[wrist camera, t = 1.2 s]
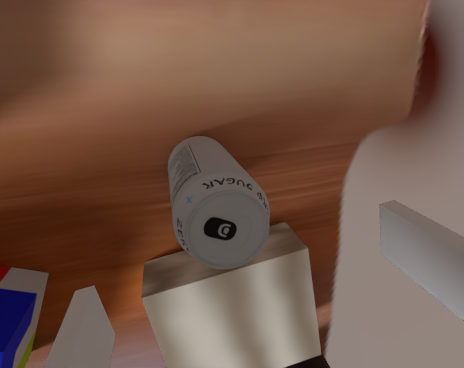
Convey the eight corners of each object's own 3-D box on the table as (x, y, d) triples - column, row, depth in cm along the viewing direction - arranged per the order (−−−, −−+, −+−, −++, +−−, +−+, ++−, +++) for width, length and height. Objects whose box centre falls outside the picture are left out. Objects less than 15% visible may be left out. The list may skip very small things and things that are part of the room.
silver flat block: (177, 357, 38) (180, 404, 33) (144, 261, 33) (141, 298, 28) (299, 316, 41) (321, 354, 35) (284, 221, 36) (308, 248, 30)
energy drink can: (215, 199, 33) (256, 287, 19) (159, 183, 31) (159, 266, 17) (236, 145, 32) (296, 198, 18) (178, 125, 30) (195, 166, 16)
